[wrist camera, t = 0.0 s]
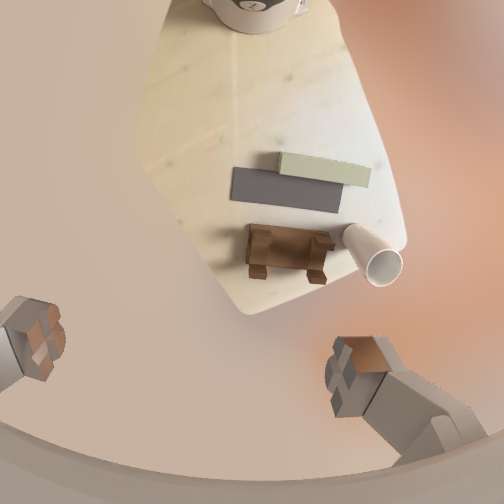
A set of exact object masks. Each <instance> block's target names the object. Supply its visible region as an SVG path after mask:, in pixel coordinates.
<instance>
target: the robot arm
mask: <svg viewBox="0 0 504 504" xmlns="http://www.w3.org/2000/svg"><path fill="white" fill-rule="evenodd" d="M202 2H203V3H204V4H206V5H207V6H209V7H211V8H212V9H213V10H214V11H215V13H216V14H217V16H218V17H219V19H220V20H221V21H222V22H223V23H224V24H225V25H227V26H228V27H230V28H232V29H234V30H236V31H239V32H243V33H248V34H263V33H268V32H271V31H274V30H276V29H278V28H280V27H282V26H283V25H285V24H286V23H287V22H288V21H289V20H290V19H291V18H293V17H296V16H299V15H302V14H304V13H306V11H307V0H202ZM300 3H302V4H300ZM60 317H61V316H60V312H59V309H58V307H57V306H56V305H55V304H52V303H48V302H44V301H40V300H36V299H32V298H27V297H23V296H15V297H14V298H13V299H12V300H11V301H10V302H9V303H8V304H7V305H6V306H5V307H4V308H3V309H2V310H1V311H0V393H1V392H2V391H3V390H5V389H6V388H8V387H9V386H11V385H12V384H13V383H15V382H17V381H18V380H19V379H21V378H22V377H24V376H23V375H25V376H28V377H31V378H34V379H37V380H40V381H44V382H45V381H46V380H47V378H48V376H49V375H50V373H51V371H52V370H53V368H54V365H53V361H55V360H56V359H58V358H60V357H61V355H62V353H63V352H64V347H65V343H66V340H65V332H64V329H63V327H62V326H61V325H60V324H59V322H58V321H59V319H60ZM333 350H334V353H335V354H334V355H332V356H331V357H330V358H329V359H328V361H327V364H326V369H325V383H326V387H327V389H328V390H329V391H330V392H331V393H332V394H333V396H332V398H331V404H332V407H333V411H334V414H335V418H341V417H358V416H363V417H362V418H363V419H364V420H365V421H366V422H367V423H368V424H369V425H371V427H372V428H373V429H374V430H376V431H377V432H378V433H379V434H380V435H381V436H382V437H383V438H384V439H385V440H386V441H387V442H388V443H389V444H390V445H391V446H392V447H393V448H394V449H395V450H396V451H397V452H398V453H399V454H401V455H402V456H401V457H400V458H399V459H398V460H397V461H396V462H395V463H394V464H393V466H392V467H389V468H385V469H380V470H375V471H369V472H364V473H358V474H351V475H344V476H336V477H327V478H317V479H304V480H287V481H239V480H220V479H208V478H197V477H188V476H181V475H173V474H167V473H160V472H155V471H149V470H144V469H139V468H134V467H130V466H125V465H120V464H117V463H113V462H109V461H105V460H101V459H98V458H94V457H90V456H87V455H84V454H81V453H78V452H75V451H72V450H69V449H66V448H63V447H60V446H57V445H55V444H52V443H49V442H46V441H44V440H42V439H39V438H37V437H34V436H32V435H30V434H27V433H25V432H23V431H20V430H18V429H16V428H14V427H12V426H10V425H8V424H6V423H3V422H2V421H0V504H504V430H502V431H499V432H497V433H495V434H493V435H490V436H487V434H486V432H485V431H484V429H483V427H482V425H481V424H480V422H479V420H478V419H477V417H476V415H475V414H474V412H473V410H472V409H471V407H470V406H468V405H466V404H465V403H463V402H461V401H460V400H458V399H457V398H455V397H453V396H452V395H450V394H449V393H447V392H445V391H444V390H442V389H441V388H439V387H437V386H436V385H434V384H433V383H431V382H430V381H428V380H426V379H425V378H423V377H422V376H420V375H419V374H417V373H415V372H413V371H412V370H407V369H406V368H405V365H404V364H403V362H402V361H401V359H400V357H399V356H398V354H397V352H396V350H395V349H394V347H393V345H392V344H391V342H390V340H389V339H388V337H386V336H384V335H380V336H365V337H364V336H338V337H337V338H336V339H335V341H334V345H333Z"/></svg>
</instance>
